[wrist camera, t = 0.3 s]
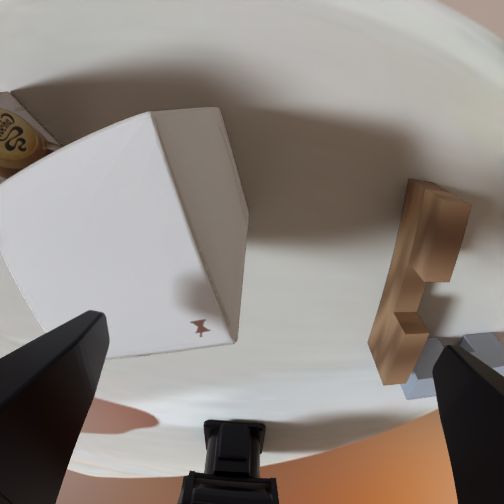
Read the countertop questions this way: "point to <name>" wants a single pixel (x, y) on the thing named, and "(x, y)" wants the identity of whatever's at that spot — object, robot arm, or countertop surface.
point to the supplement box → (134, 233)
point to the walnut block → (415, 275)
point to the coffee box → (20, 138)
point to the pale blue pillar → (421, 376)
